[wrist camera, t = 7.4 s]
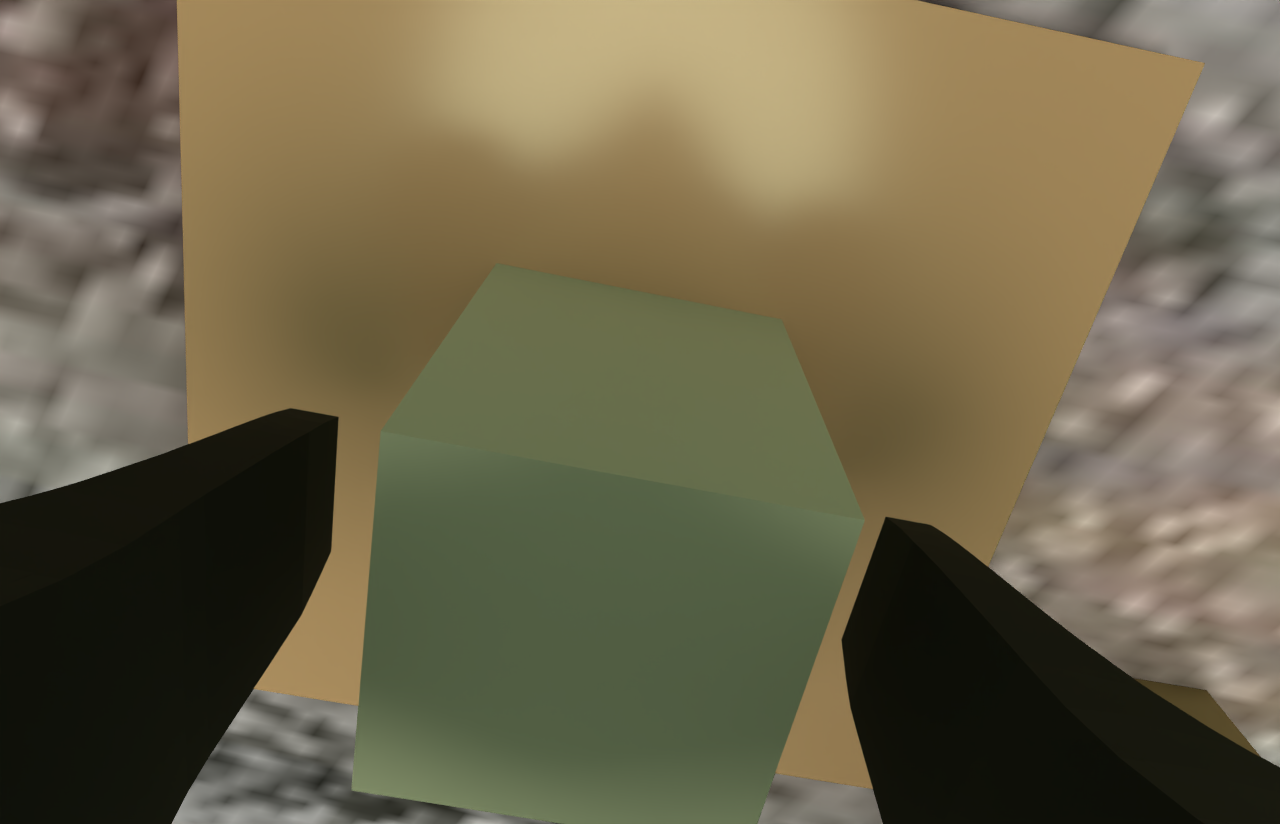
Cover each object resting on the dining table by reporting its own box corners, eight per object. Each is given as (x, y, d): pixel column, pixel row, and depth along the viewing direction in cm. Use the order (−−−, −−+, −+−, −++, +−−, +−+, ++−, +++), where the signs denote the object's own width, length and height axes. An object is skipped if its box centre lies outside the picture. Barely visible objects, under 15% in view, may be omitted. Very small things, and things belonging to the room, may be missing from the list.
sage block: (716, 556, 15) (747, 853, 10) (463, 511, 15) (351, 789, 10) (781, 319, 13) (865, 519, 8) (496, 263, 13) (381, 430, 8)
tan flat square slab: (879, 754, 18) (890, 792, 18) (218, 645, 18) (194, 679, 17) (1165, 60, 13) (1205, 63, 12) (210, -148, 12) (172, -163, 11)
